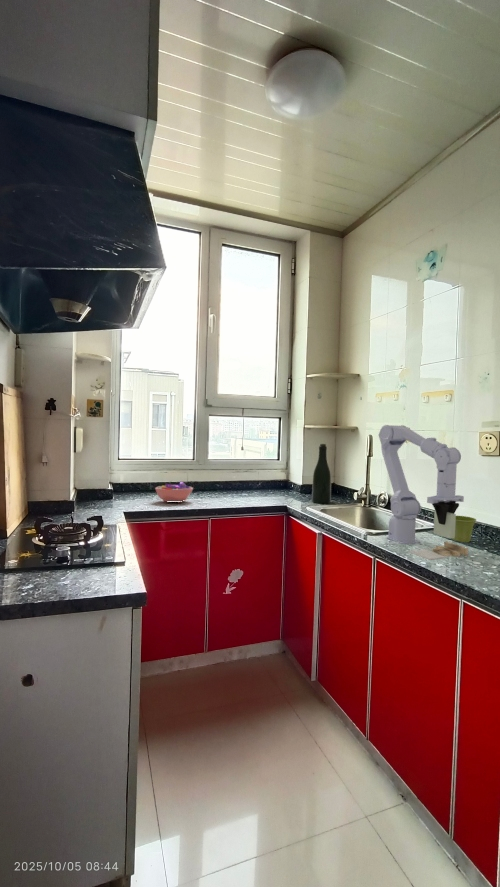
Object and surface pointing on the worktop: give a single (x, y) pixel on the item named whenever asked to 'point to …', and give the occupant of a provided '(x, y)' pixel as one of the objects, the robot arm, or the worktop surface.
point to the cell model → (174, 492)
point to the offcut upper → (441, 551)
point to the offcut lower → (443, 555)
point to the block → (445, 526)
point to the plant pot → (463, 528)
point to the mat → (427, 554)
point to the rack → (454, 549)
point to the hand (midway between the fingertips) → (444, 523)
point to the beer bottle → (322, 478)
